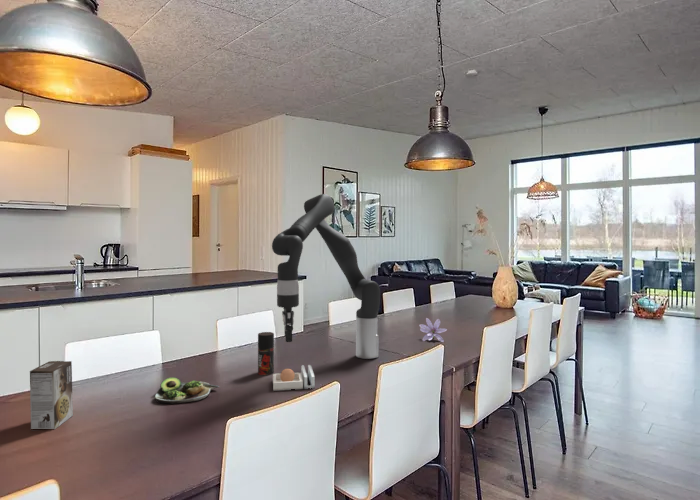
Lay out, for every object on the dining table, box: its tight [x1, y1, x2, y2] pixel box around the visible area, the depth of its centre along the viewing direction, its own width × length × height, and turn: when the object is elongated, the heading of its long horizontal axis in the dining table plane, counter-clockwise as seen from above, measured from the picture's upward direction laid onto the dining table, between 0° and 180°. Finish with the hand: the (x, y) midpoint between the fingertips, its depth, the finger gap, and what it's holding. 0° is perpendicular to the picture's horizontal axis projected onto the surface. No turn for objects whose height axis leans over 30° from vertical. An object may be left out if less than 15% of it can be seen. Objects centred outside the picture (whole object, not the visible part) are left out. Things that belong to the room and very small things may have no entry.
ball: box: [279, 368, 295, 382], centre depth 152 cm, size 5×5×5 cm
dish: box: [272, 371, 304, 392], centre depth 152 cm, size 10×10×3 cm
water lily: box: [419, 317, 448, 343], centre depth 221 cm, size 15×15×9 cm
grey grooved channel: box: [300, 364, 316, 390], centre depth 155 cm, size 4×14×4 cm, turn 11°
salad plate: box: [153, 377, 220, 405], centre depth 143 cm, size 19×18×5 cm
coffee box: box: [29, 360, 74, 430], centre depth 120 cm, size 9×6×16 cm
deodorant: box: [257, 331, 275, 376], centre depth 165 cm, size 6×6×15 cm
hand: (288, 338), depth 151 cm, fingers open, 8 cm apart
